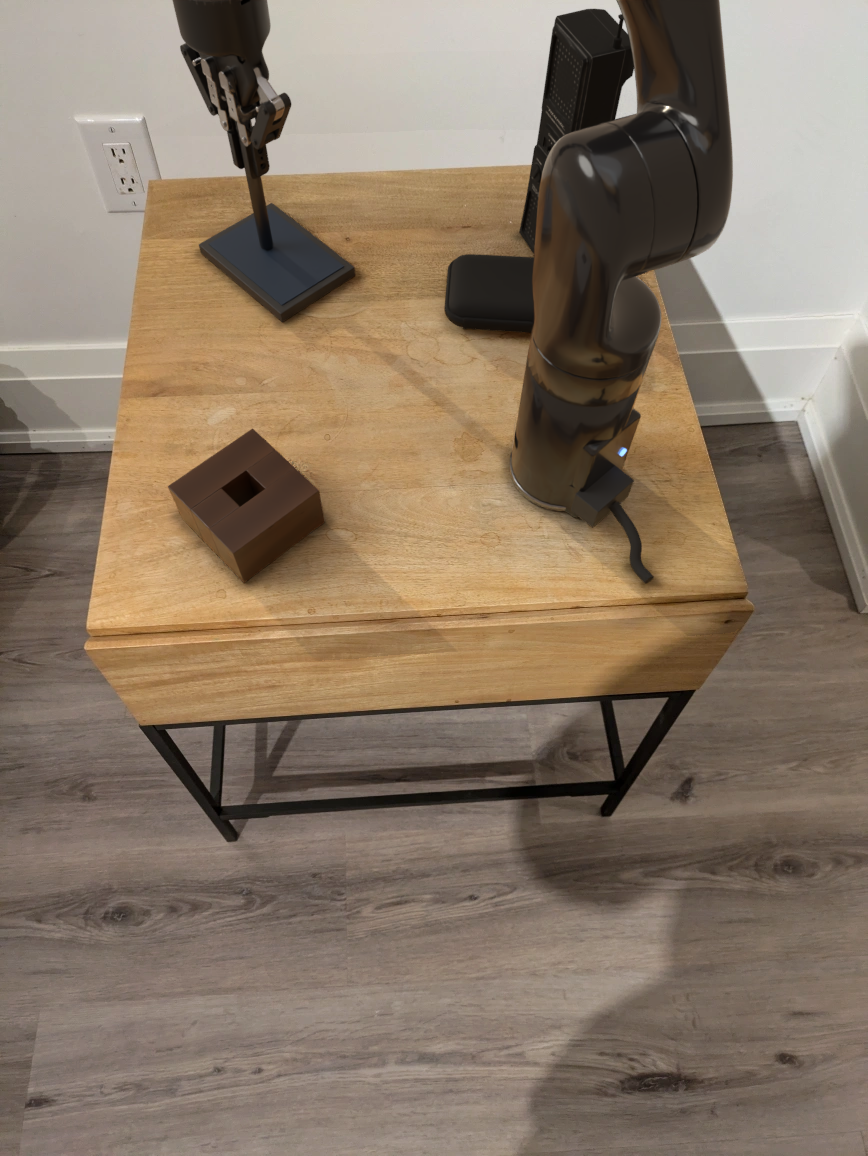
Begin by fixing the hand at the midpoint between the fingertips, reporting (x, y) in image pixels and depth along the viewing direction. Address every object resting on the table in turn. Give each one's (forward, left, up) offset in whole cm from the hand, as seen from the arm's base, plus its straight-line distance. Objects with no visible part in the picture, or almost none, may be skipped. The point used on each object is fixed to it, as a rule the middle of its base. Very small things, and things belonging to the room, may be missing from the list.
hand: (252, 168), depth 82 cm
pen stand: (-26, +22, -11) cm, 35 cm away
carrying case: (-24, -14, -11) cm, 29 cm away
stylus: (0, 0, -9) cm, 9 cm away
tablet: (-2, 0, -11) cm, 11 cm away
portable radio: (-20, -24, -11) cm, 33 cm away
